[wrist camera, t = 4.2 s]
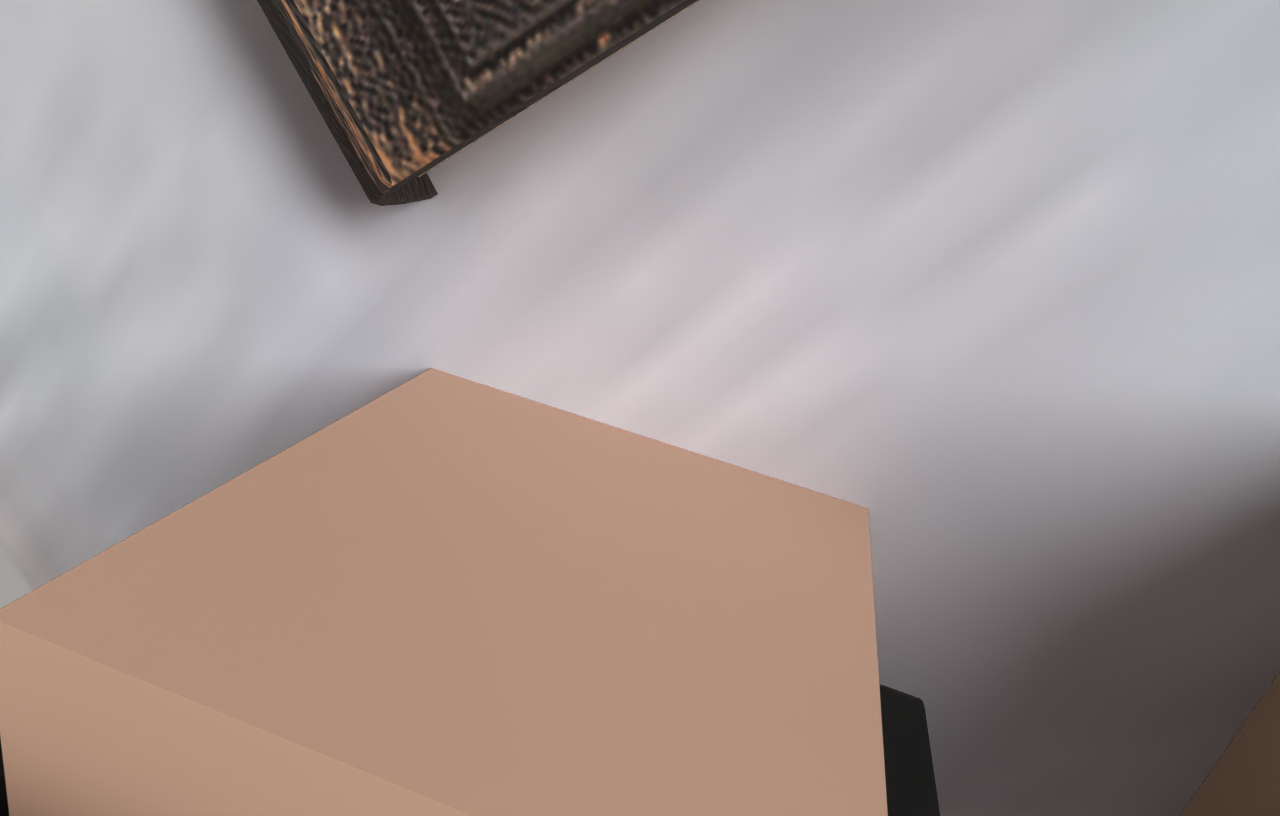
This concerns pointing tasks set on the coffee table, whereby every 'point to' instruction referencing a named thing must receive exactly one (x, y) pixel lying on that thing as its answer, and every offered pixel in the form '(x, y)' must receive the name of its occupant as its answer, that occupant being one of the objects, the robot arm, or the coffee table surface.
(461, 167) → the coffee table surface
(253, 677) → the terracotta cube
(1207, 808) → the tower bottom
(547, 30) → the hardcover book
